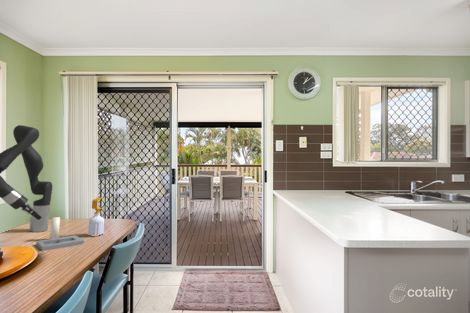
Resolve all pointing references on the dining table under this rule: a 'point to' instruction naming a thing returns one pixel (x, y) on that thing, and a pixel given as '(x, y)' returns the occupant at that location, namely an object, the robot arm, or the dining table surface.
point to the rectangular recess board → (59, 242)
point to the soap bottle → (96, 220)
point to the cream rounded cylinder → (55, 227)
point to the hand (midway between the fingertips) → (38, 217)
